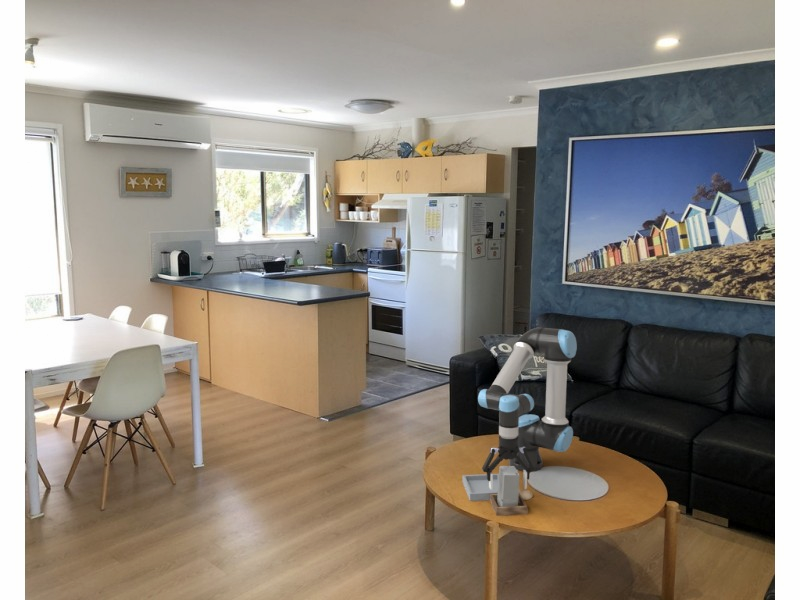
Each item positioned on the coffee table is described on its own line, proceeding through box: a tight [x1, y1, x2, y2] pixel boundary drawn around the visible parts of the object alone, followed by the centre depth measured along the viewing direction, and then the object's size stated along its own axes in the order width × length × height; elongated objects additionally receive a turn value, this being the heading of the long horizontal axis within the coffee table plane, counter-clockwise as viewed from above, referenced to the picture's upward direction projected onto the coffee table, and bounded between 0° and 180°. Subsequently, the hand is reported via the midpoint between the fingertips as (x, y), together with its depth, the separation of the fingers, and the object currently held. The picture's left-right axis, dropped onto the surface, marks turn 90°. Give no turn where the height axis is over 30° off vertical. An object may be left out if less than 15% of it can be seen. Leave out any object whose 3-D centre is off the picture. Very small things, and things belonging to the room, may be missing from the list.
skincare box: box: [496, 465, 521, 507], centre depth 240 cm, size 8×7×16 cm
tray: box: [461, 473, 499, 502], centre depth 256 cm, size 16×18×3 cm
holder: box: [489, 493, 528, 516], centre depth 241 cm, size 12×12×3 cm
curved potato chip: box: [519, 488, 534, 501], centre depth 251 cm, size 9×9×1 cm
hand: (507, 487), depth 240 cm, fingers open, 13 cm apart
